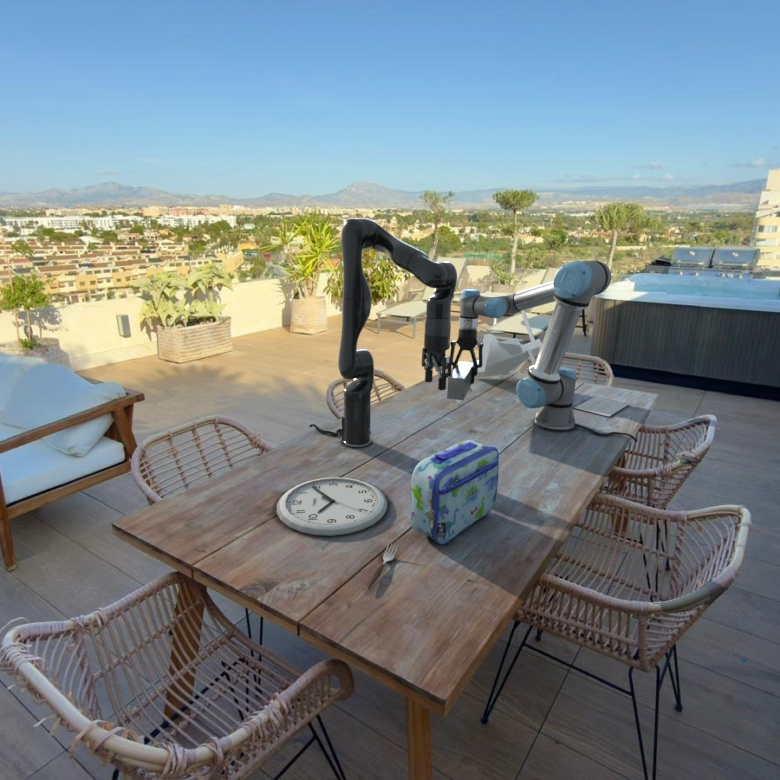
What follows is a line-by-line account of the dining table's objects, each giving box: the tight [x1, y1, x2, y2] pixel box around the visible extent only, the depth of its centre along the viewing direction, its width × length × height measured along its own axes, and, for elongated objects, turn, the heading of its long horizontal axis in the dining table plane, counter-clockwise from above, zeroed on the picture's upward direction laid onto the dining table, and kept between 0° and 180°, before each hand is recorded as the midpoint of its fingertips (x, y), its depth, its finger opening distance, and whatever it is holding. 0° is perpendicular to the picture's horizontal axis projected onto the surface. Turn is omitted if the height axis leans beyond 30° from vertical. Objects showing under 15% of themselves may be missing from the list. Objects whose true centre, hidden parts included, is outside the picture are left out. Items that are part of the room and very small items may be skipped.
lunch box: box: [410, 439, 500, 545], centre depth 131 cm, size 26×11×21 cm, turn 134°
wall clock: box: [276, 476, 388, 537], centre depth 142 cm, size 30×2×30 cm
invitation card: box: [573, 396, 629, 418], centre depth 226 cm, size 21×1×15 cm
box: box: [446, 361, 474, 401], centre depth 210 cm, size 26×6×8 cm, turn 163°
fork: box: [367, 541, 399, 590], centre depth 116 cm, size 3×16×2 cm, turn 160°
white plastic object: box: [474, 310, 543, 379], centre depth 257 cm, size 37×45×31 cm
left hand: (435, 385), depth 157 cm, fingers open, 8 cm apart
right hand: (464, 382), depth 220 cm, fingers closed on box, 6 cm apart
